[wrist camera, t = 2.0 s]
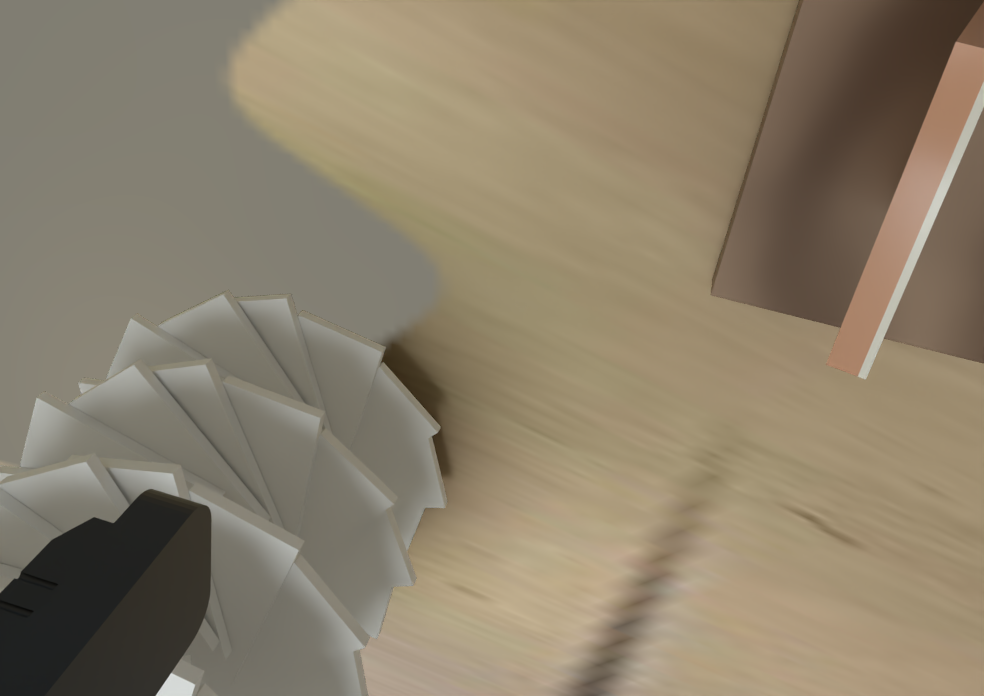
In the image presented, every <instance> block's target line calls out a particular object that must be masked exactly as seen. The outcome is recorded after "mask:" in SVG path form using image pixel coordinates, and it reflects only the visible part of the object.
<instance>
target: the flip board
mask: <svg viewBox="0 0 984 696" xmlns="http://www.w3.org/2000/svg"><path fill="white" fill-rule="evenodd" d="M983 2H984V0H799V3H798V7H797V10H796V13H795V16H794V19H793V23H792V26H791V29H790V32H789V35H788V39H787V42H786V45H785V48H784V51H783V55H782V58H781V61H780V64H779V67H778V71H777V74H776V77H775V80H774V84H773V87H772V90H771V93H770V96H769V100H768V103H767V106H766V109H765V112H764V116H763V119H762V122H761V125H760V128H759V132H758V135H757V138H756V141H755V145H754V148H753V151H752V154H751V157H750V161H749V164H748V167H747V170H746V173H745V177H744V180H743V183H742V186H741V189H740V193H739V196H738V199H737V202H736V205H735V209H734V212H733V215H732V218H731V222H730V225H729V228H728V231H727V234H726V238H725V241H724V244H723V247H722V250H721V254H720V257H719V260H718V263H717V266H716V270H715V273H714V276H713V279H712V288H711V295H712V296H716V297H720V298H724V299H728V300H732V301H736V302H740V303H744V304H748V305H752V306H756V307H760V308H764V309H768V310H772V311H776V312H780V313H784V314H788V315H792V316H796V317H800V318H804V319H808V320H812V321H816V322H820V323H824V324H828V325H832V326H836V327H840V328H841V326H842V323H843V321H844V318H845V316H846V313H847V311H848V308H849V306H850V303H851V301H852V298H853V296H854V293H855V291H856V288H857V286H858V283H859V281H860V278H861V276H862V273H863V271H864V268H865V266H866V263H867V261H868V259H869V256H870V254H871V251H872V249H873V246H874V244H875V241H876V239H877V236H878V234H879V231H880V229H881V226H882V224H883V221H884V219H885V216H886V214H887V211H888V209H889V206H890V204H891V201H892V199H893V196H894V194H895V191H896V189H897V187H898V184H899V182H900V179H901V177H902V174H903V172H904V169H905V167H906V164H907V162H908V159H909V157H910V154H911V152H912V149H913V147H914V144H915V142H916V139H917V137H918V134H919V132H920V129H921V127H922V124H923V122H924V119H925V117H926V115H927V112H928V110H929V107H930V105H931V102H932V100H933V97H934V95H935V92H936V90H937V87H938V85H939V82H940V80H941V77H942V75H943V72H944V70H945V67H946V65H947V62H948V60H949V57H950V55H951V52H952V50H953V48H954V45H955V43H956V41H957V39H958V38H959V36H960V35H961V34H962V32H963V31H964V29H965V28H966V26H967V25H968V23H969V22H970V21H971V19H972V18H973V16H974V15H975V13H976V12H977V10H978V9H979V8H980V6H981V5H982V3H983ZM884 339H888V340H892V341H896V342H900V343H904V344H908V345H912V346H916V347H920V348H924V349H928V350H932V351H936V352H940V353H944V354H948V355H952V356H956V357H960V358H964V359H968V360H972V361H976V362H980V363H984V108H983V110H982V112H981V115H980V117H979V119H978V122H977V124H976V126H975V128H974V131H973V133H972V135H971V138H970V140H969V142H968V145H967V147H966V149H965V152H964V154H963V156H962V158H961V161H960V163H959V165H958V168H957V170H956V172H955V175H954V177H953V179H952V182H951V184H950V186H949V188H948V191H947V193H946V195H945V198H944V200H943V202H942V205H941V207H940V209H939V212H938V214H937V216H936V218H935V221H934V223H933V225H932V228H931V230H930V232H929V235H928V237H927V239H926V242H925V244H924V246H923V249H922V251H921V253H920V255H919V258H918V260H917V262H916V265H915V267H914V269H913V272H912V274H911V276H910V279H909V281H908V283H907V285H906V288H905V290H904V292H903V295H902V297H901V299H900V302H899V304H898V306H897V309H896V311H895V313H894V315H893V318H892V320H891V322H890V325H889V327H888V329H887V332H886V334H885V336H884Z"/></svg>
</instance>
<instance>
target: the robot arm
mask: <svg viewBox="0 0 984 696" xmlns="http://www.w3.org/2000/svg"><path fill="white" fill-rule="evenodd" d="M211 522H212V519H211V511H210V509H209V507H208V506H206V505H203V504H200V503H196V502H193V501H190V500H187V499H183V498H180V497H177V496H174V495H170V494H167V493H164V492H161V491H157V490H154V489H148V490H146V491H144V492H143V493H141V494H140V495H139V496H138V497H137V498H136V499H135V500H134V501H133V503H132V504H131V505H130V506H129V507H128V508H127V509H126V510H125V511H124V512H123V514H122V515H121V516H120V517H119V518H118V519H117V520H116V521H115V522H114V523H112V522H108V521H105V520H102V519H99V518H96V517H93V518H91V519H89V520H88V521H86V522H84V523H82V524H80V525H78V526H76V527H75V528H73V529H71V530H69V531H67V532H65V533H63V534H62V535H60V536H58V537H56V538H54V539H52V540H51V541H50V542H49V543H48V544H47V545H46V546H45V547H44V548H43V549H42V550H41V551H40V552H39V553H38V554H37V556H36V557H35V558H34V559H33V560H32V561H31V562H30V563H29V564H28V565H27V566H26V567H25V568H24V569H23V570H22V571H21V574H20V576H19V578H18V579H15V578H14V579H13V580H12V581H11V582H10V583H9V584H8V585H7V586H6V587H5V589H4V590H3V591H2V592H1V593H0V696H156V695H157V693H158V692H159V690H160V689H161V687H162V686H163V684H164V683H165V681H166V680H167V678H168V677H169V676H170V674H171V673H172V671H173V670H174V668H175V667H176V665H177V664H178V662H179V661H180V659H181V658H182V656H183V655H184V653H185V652H186V651H187V649H188V648H189V646H190V645H191V643H192V642H193V640H194V638H195V636H196V635H197V633H198V631H199V629H200V627H201V624H202V622H203V619H204V617H205V614H206V611H207V607H208V603H209V599H210V590H211Z"/></svg>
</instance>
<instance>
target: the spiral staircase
mask: <svg viewBox="0 0 984 696" xmlns="http://www.w3.org/2000/svg"><path fill="white" fill-rule="evenodd" d="M385 349H386V347H385V346H383V345H380V344H378V343H376V342H374V341H371V340H369V339H367V338H365V337H362V336H360V335H358V334H356V333H353V332H351V331H349V330H347V329H344V328H342V327H340V326H338V325H335V324H333V323H331V322H329V321H326V320H324V319H322V318H319V317H317V316H315V315H313V314H311V313H308V312H306V311H304V310H302V311H301V313H300V314H299V315H297V312H296V309H295V306H294V302H293V299H292V295H291V294H279V295H263V296H248V297H233V296H232V294H231V293H230V291H229V290H227V291H225V292H223V293H221V294H219V295H216V296H215V297H212V298H210V299H208V300H206V301H204V302H202V303H200V304H198V305H196V306H194V307H192V308H190V309H188V310H186V311H183V312H181V313H179V314H177V315H175V316H173V317H171V318H169V319H167V320H165V321H163V322H162V323H160V324H159V325H158V326H156V325H155V324H153V323H152V322H150V321H149V320H147V319H145V318H144V317H142V316H140V315H139V314H136V315H134V316H133V317H132V318H131V320H130V322H129V324H128V327H127V329H126V331H125V334H124V336H123V339H122V341H121V343H120V346H119V348H118V351H117V353H116V355H115V358H114V360H113V363H112V365H111V368H110V370H109V372H108V375H107V377H106V380H98V379H91V378H83V379H82V380H81V381H80V382H78V384H79V388H80V392H81V395H79V396H78V397H76V398H75V399H74V400H72V401H71V402H70V403H69V404H67V403H65V402H63V401H62V400H60V399H58V398H56V397H55V396H53V395H51V394H49V393H47V392H46V391H44V392H43V393H42V394H40V395H39V396H38V397H37V399H36V402H35V406H34V410H33V414H32V419H31V423H30V427H29V431H28V435H27V439H26V443H25V447H24V451H23V455H22V459H21V463H20V467H12V466H2V465H0V593H1V592H2V591H3V590H4V589H5V587H6V586H7V585H8V584H9V583H10V582H11V581H12V580H13V579H14V578H15V579H18V578H19V576H20V574H21V571H22V570H23V569H24V568H25V567H26V566H27V565H28V564H29V563H30V562H31V561H32V560H33V559H34V558H35V557H36V556H37V554H38V553H39V552H40V551H41V550H42V549H43V548H44V547H45V546H46V545H47V544H48V543H49V542H50V541H51V540H52V539H54V538H56V537H58V536H60V535H62V534H63V533H65V532H67V531H69V530H71V529H73V528H75V527H76V526H78V525H80V524H82V523H84V522H86V521H88V520H89V519H91V518H93V517H96V518H99V519H102V520H105V521H108V522H112V523H114V522H115V521H116V520H117V519H118V518H119V517H120V516H121V515H122V514H123V512H124V511H125V510H126V509H127V508H128V507H129V506H130V505H131V504H132V503H133V501H134V500H135V499H136V498H137V497H138V496H139V495H140V494H141V493H143V492H144V491H146V490H148V489H154V490H157V491H161V492H164V493H167V494H170V495H174V496H177V497H180V498H183V499H187V500H190V501H193V502H196V503H200V504H203V505H206V506H208V507H209V509H210V511H211V519H212V522H211V590H210V599H209V603H208V607H207V611H206V614H205V617H204V619H203V622H202V624H201V627H200V629H199V631H198V633H197V635H196V636H195V638H194V640H193V642H192V643H191V645H190V646H189V648H188V649H187V651H186V652H185V653H184V655H183V656H182V658H181V659H180V661H179V662H178V664H177V665H176V667H175V668H174V670H173V671H172V673H171V674H170V676H169V677H168V678H167V680H166V681H165V683H164V684H163V686H162V687H161V689H160V690H159V692H158V693H157V695H156V696H368V691H367V686H366V681H365V676H364V670H363V665H362V660H361V654H360V649H362V648H365V647H366V645H367V643H368V640H369V638H370V637H369V636H371V637H373V638H376V639H377V638H378V636H379V634H380V632H381V629H382V625H383V622H384V618H385V615H386V612H387V608H388V605H389V601H390V598H391V595H392V591H393V588H394V587H395V586H413V585H414V583H415V581H416V579H417V577H416V575H415V572H414V569H413V566H412V564H411V561H410V558H409V555H408V553H407V551H408V548H409V546H410V544H411V541H412V539H413V536H414V534H415V532H416V529H417V527H418V524H419V522H420V520H421V517H422V515H423V512H424V510H425V508H445V507H446V504H447V502H448V501H447V497H446V493H445V489H444V484H443V480H442V476H441V472H440V468H439V464H438V459H437V455H436V451H435V447H434V443H433V439H432V436H433V435H435V434H437V433H438V431H439V430H440V428H441V426H440V425H439V424H438V423H437V422H436V421H435V420H434V419H433V417H432V416H431V415H430V414H429V413H428V412H427V411H426V410H425V408H424V407H423V406H422V405H421V404H420V403H419V402H418V401H417V399H416V398H415V397H414V396H413V395H412V394H411V393H410V392H409V390H408V389H407V388H406V387H405V386H404V385H403V384H402V382H401V381H400V380H399V379H398V378H397V377H396V376H395V375H394V373H393V372H392V371H391V370H390V369H389V368H388V367H387V366H386V364H385V363H384V362H382V363H381V361H382V358H383V355H384V352H385Z"/></svg>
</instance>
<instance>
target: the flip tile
mask: <svg viewBox="0 0 984 696" xmlns="http://www.w3.org/2000/svg"><path fill="white" fill-rule="evenodd" d="M983 108H984V2H983V3H982V5H981V6H980V8H979V9H978V10H977V12H976V13H975V15H974V16H973V18H972V19H971V21H970V22H969V23H968V25H967V26H966V28H965V29H964V31H963V32H962V34H961V35H960V36H959V38H958V39H957V41H956V43H955V45H954V48H953V50H952V52H951V55H950V57H949V60H948V62H947V65H946V67H945V70H944V72H943V75H942V77H941V80H940V82H939V85H938V87H937V90H936V92H935V95H934V97H933V100H932V102H931V105H930V107H929V110H928V112H927V115H926V117H925V119H924V122H923V124H922V127H921V129H920V132H919V134H918V137H917V139H916V142H915V144H914V147H913V149H912V152H911V154H910V157H909V159H908V162H907V164H906V167H905V169H904V172H903V174H902V177H901V179H900V182H899V184H898V187H897V189H896V191H895V194H894V196H893V199H892V201H891V204H890V206H889V209H888V211H887V214H886V216H885V219H884V221H883V224H882V226H881V229H880V231H879V234H878V236H877V239H876V241H875V244H874V246H873V249H872V251H871V254H870V256H869V259H868V261H867V263H866V266H865V268H864V271H863V273H862V276H861V278H860V281H859V283H858V286H857V288H856V291H855V293H854V296H853V298H852V301H851V303H850V306H849V308H848V311H847V313H846V316H845V318H844V321H843V323H842V326H841V328H840V331H839V333H838V335H837V338H836V340H835V343H834V345H833V348H832V350H831V353H830V355H829V358H828V360H827V363H826V365H829V366H831V367H834V368H837V369H839V370H842V371H844V372H847V373H850V374H852V375H855V376H858V377H860V378H863V379H866V378H867V375H868V373H869V371H870V369H871V366H872V364H873V362H874V359H875V357H876V355H877V352H878V350H879V348H880V345H881V343H882V341H883V339H884V336H885V334H886V332H887V329H888V327H889V325H890V322H891V320H892V318H893V315H894V313H895V311H896V309H897V306H898V304H899V302H900V299H901V297H902V295H903V292H904V290H905V288H906V285H907V283H908V281H909V279H910V276H911V274H912V272H913V269H914V267H915V265H916V262H917V260H918V258H919V255H920V253H921V251H922V249H923V246H924V244H925V242H926V239H927V237H928V235H929V232H930V230H931V228H932V225H933V223H934V221H935V218H936V216H937V214H938V212H939V209H940V207H941V205H942V202H943V200H944V198H945V195H946V193H947V191H948V188H949V186H950V184H951V182H952V179H953V177H954V175H955V172H956V170H957V168H958V165H959V163H960V161H961V158H962V156H963V154H964V152H965V149H966V147H967V145H968V142H969V140H970V138H971V135H972V133H973V131H974V128H975V126H976V124H977V122H978V119H979V117H980V115H981V112H982V110H983Z"/></svg>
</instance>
